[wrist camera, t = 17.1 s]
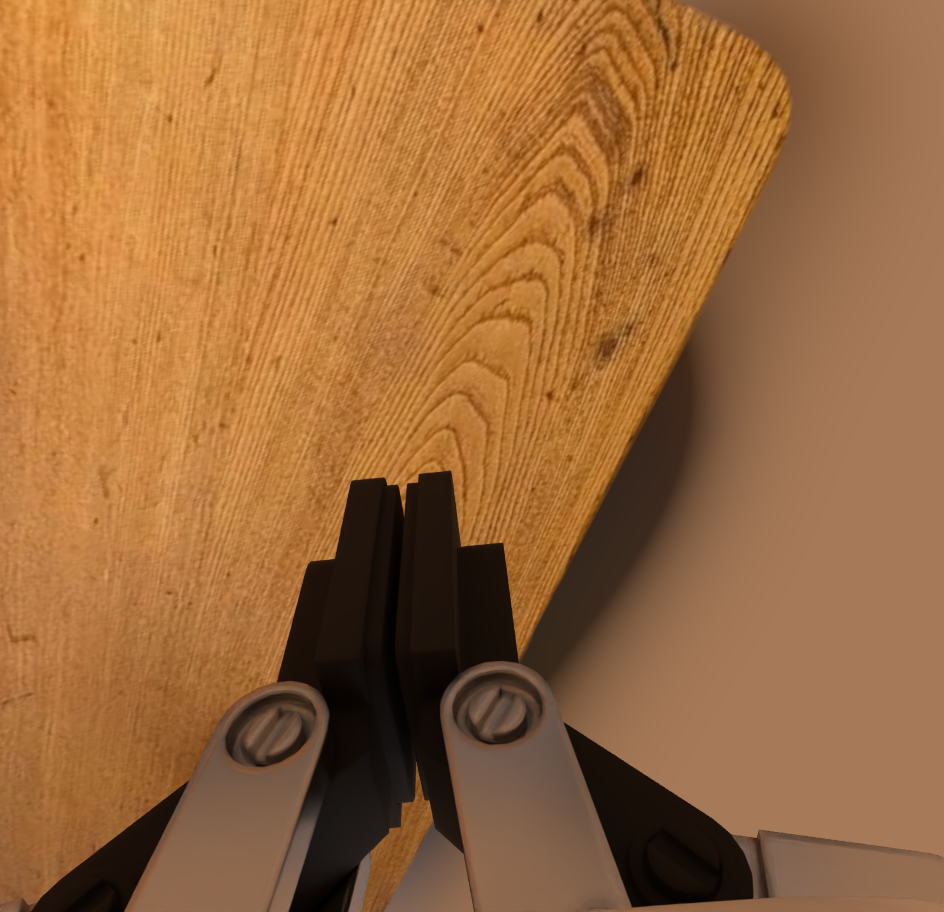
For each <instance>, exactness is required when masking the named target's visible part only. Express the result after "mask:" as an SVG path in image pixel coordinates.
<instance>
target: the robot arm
mask: <svg viewBox="0 0 944 912" xmlns="http://www.w3.org/2000/svg"><path fill="white" fill-rule="evenodd" d="M416 762H417V766H418V771H419V776H420V781H421V785H422V790H423V795H424V799H425V800H430V805H431V810H432V815H433V820H434V825H435V829H436V830H438V831H439V832H440V833H441V834H442V835H443V836H444V837H445V838H447V839H448V840H449V841H450V842H451V843H452V844H453V845H454V846H456V847H457V848H458V849H459V850H460V851H461V852H462V853H463V854H464V858H465V864H466V870H467V875H468V881H469V886H470V892H471V897H472V902H473V908H474V912H944V857H941V856H938V855H934V854H931V853H925V852H918V851H910V850H904V849H896V848H889V847H882V846H875V845H867V844H860V843H852V842H845V841H838V840H830V839H823V838H815V837H808V836H800V835H794V834H786V833H779V832H772V831H765V830H759V831H758V836H757V838H752V837H745V836H738V835H731V834H730V833H729V832H728V831H727V830H726V829H724V828H723V827H722V826H721V825H720V824H718V823H717V822H716V821H715V820H714V819H712V818H711V817H709V816H708V815H706V814H705V813H703V812H702V811H700V810H698V809H697V808H695V807H694V806H692V805H691V804H689V803H688V802H686V801H685V800H683V799H681V798H680V797H678V796H677V795H675V794H674V793H672V792H671V791H669V790H668V789H666V788H665V787H663V786H661V785H660V784H658V783H657V782H655V781H654V780H652V779H651V778H649V777H648V776H646V775H644V774H643V773H641V772H640V771H638V770H637V769H635V768H634V767H632V766H630V765H629V764H627V763H626V762H624V761H623V760H621V759H620V758H618V757H617V756H615V755H614V754H612V753H611V752H609V751H607V750H606V749H604V748H603V747H601V746H600V745H598V744H597V743H595V742H594V741H592V740H590V739H589V738H587V737H586V736H584V735H583V734H581V733H580V732H578V731H577V730H575V729H573V728H572V727H570V726H569V725H567V724H566V723H564V722H563V720H562V717H561V714H560V712H559V709H558V706H557V703H556V701H555V698H554V695H553V693H552V691H551V689H550V688H549V686H548V684H547V682H546V681H545V680H544V679H543V678H542V677H541V676H539V674H537V673H536V672H535V671H534V670H532V669H530V668H528V667H525V666H523V665H521V664H519V661H518V653H517V646H516V638H515V630H514V622H513V615H512V607H511V599H510V592H509V584H508V576H507V568H506V561H505V553H504V546H503V543H494V544H484V545H474V546H464V547H461V543H460V535H459V527H458V519H457V511H456V503H455V495H454V487H453V479H452V473H451V471H444V472H434V473H423V474H419V478H418V483H408V484H407V490H406V503H405V516H404V513H403V507H402V501H401V496H400V490H399V487H398V485H388V486H387V482H386V479H385V478H384V477H383V478H373V479H363V480H353V481H351V484H350V489H349V493H348V498H347V503H346V508H345V513H344V518H343V522H342V527H341V532H340V537H339V542H338V547H337V551H336V556H335V559H331V560H320V561H311V562H310V563H309V564H308V566H307V569H306V572H305V576H304V579H303V583H302V587H301V591H300V595H299V599H298V603H297V606H296V610H295V614H294V618H293V622H292V626H291V630H290V633H289V637H288V641H287V645H286V649H285V653H284V657H283V661H282V664H281V668H280V672H279V676H278V680H277V682H276V683H271V684H269V685H266V686H263V687H260V688H257V689H255V690H253V691H252V692H250V693H248V694H247V695H245V696H243V697H241V698H240V699H239V700H238V701H237V702H236V703H235V704H234V705H232V706H231V707H230V708H229V709H228V710H227V711H226V713H225V714H224V716H223V717H222V719H221V720H220V722H219V723H218V725H217V727H216V729H215V731H214V733H213V735H212V737H211V739H210V741H209V743H208V745H207V747H206V749H205V751H204V753H203V755H202V757H201V759H200V761H199V763H198V765H197V767H196V769H195V771H194V773H193V775H192V777H191V779H190V780H189V781H188V782H186V783H185V784H184V785H182V786H181V787H180V788H179V789H177V790H176V791H175V792H173V793H172V794H171V795H169V796H168V797H167V798H166V799H164V800H163V801H162V802H160V803H159V804H158V805H156V806H155V807H154V808H153V809H151V810H150V811H149V812H147V813H146V814H145V815H144V816H142V817H141V818H140V819H138V820H137V821H136V822H134V823H133V824H132V825H131V826H129V827H128V828H127V829H125V830H124V831H123V832H122V833H120V834H119V835H118V836H116V837H115V838H114V839H112V840H111V841H110V842H109V843H107V844H106V845H105V846H103V847H102V848H101V849H99V850H98V851H97V852H96V853H94V854H93V855H92V856H90V857H89V858H88V859H87V860H85V861H84V862H83V863H81V864H80V865H79V866H77V867H76V868H75V869H74V870H72V871H71V872H70V873H68V874H67V875H66V876H65V877H63V878H62V879H61V880H60V881H58V882H57V883H56V884H55V885H54V886H53V887H52V888H51V889H50V890H49V891H48V892H47V893H46V894H44V895H43V896H42V897H41V898H40V900H39V901H38V902H37V903H35V904H32V905H28V904H27V903H26V902H25V901H24V899H23V898H21V899H17V900H14V901H11V902H8V903H5V904H2V905H0V912H361V910H362V906H363V901H364V897H365V893H366V888H367V884H368V879H369V875H370V867H371V853H370V851H371V850H372V849H373V848H374V847H375V846H376V845H377V844H378V843H379V842H380V841H381V840H382V839H383V838H384V837H385V836H386V835H387V834H388V833H389V828H396V827H401V809H402V803H405V802H414V798H415V782H416Z"/></svg>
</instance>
